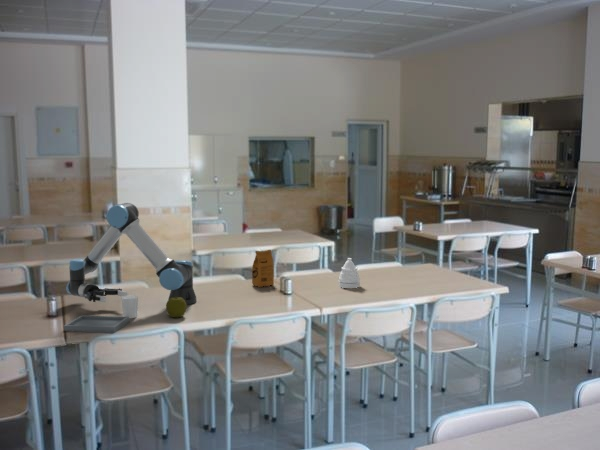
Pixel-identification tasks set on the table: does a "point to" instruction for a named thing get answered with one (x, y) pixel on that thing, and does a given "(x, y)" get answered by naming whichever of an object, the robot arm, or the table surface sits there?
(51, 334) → the table surface
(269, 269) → the coffee package
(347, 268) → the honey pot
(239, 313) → the table surface
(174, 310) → the apple
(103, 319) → the tray
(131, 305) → the white cup
